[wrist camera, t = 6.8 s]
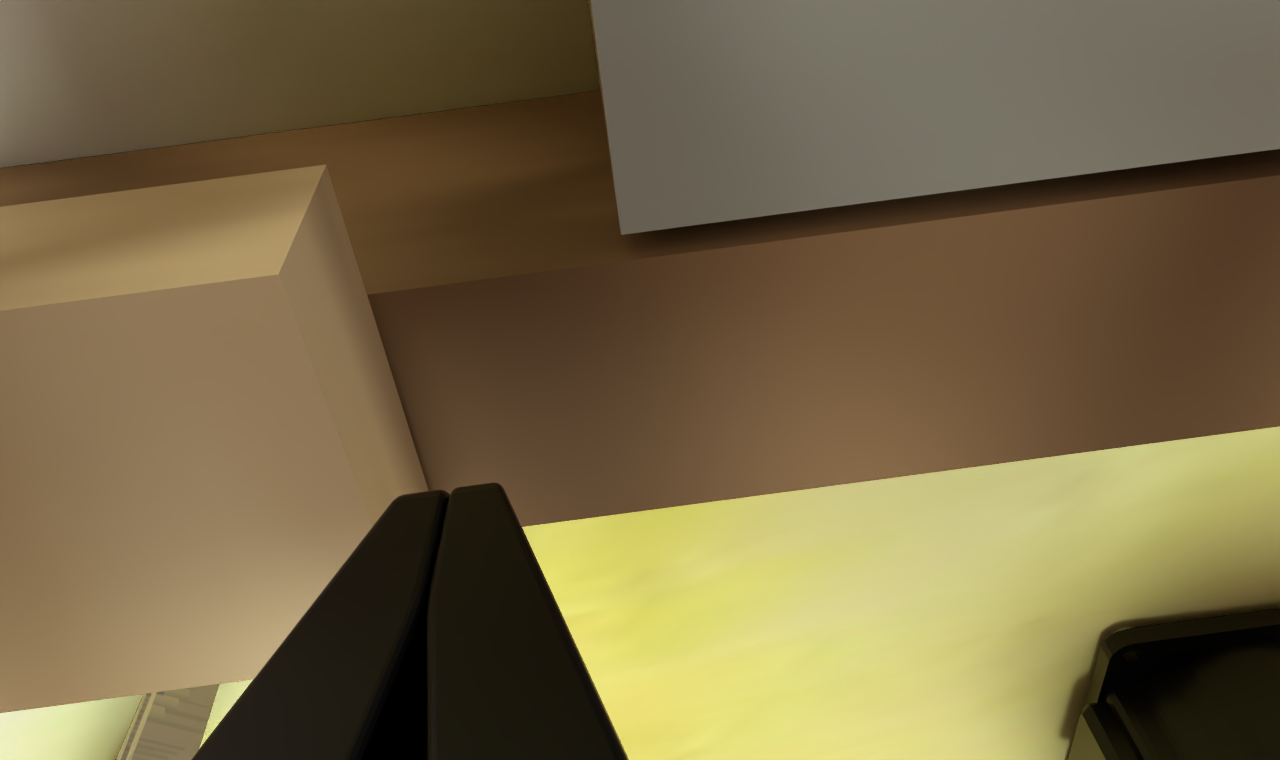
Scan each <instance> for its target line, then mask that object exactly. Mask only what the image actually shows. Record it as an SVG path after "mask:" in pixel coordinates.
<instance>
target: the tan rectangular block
mask: <svg viewBox="0 0 1280 760" xmlns="http://www.w3.org/2000/svg"><path fill="white" fill-rule="evenodd" d="M426 491H428V487H427V484H426V481H425V478H424V475H423V471H422V468H421V465H420V462H419V459H418V456H417V452H416V449H415V446H414V443H413V440H412V436H411V433H410V430H409V427H408V424H407V420H406V417H405V414H404V411H403V408H402V405H401V401H400V398H399V395H398V392H397V389H396V385H395V382H394V379H393V376H392V373H391V369H390V366H389V363H388V360H387V357H386V354H385V350H384V347H383V344H382V341H381V338H380V334H379V331H378V328H377V325H376V322H375V318H374V315H373V312H372V309H371V306H370V303H369V299H368V296H367V293H366V290H365V287H364V283H363V280H362V277H361V274H360V271H359V267H358V264H357V261H356V258H355V255H354V252H353V248H352V245H351V242H350V239H349V236H348V232H347V229H346V226H345V223H344V220H343V216H342V213H341V210H340V207H339V204H338V201H337V197H336V194H335V191H334V188H333V185H332V181H331V178H330V175H329V172H328V169H327V165H319V166H311V167H304V168H296V169H288V170H281V171H273V172H265V173H257V174H250V175H242V176H234V177H227V178H219V179H211V180H204V181H196V182H188V183H180V184H173V185H165V186H157V187H150V188H142V189H134V190H127V191H119V192H111V193H103V194H96V195H88V196H80V197H73V198H65V199H57V200H50V201H42V202H34V203H26V204H19V205H11V206H3V207H0V713H4V712H11V711H19V710H26V709H34V708H41V707H49V706H56V705H64V704H71V703H79V702H86V701H94V700H101V699H109V698H116V697H124V696H131V695H139V694H146V693H154V692H161V691H169V690H176V689H184V688H191V687H199V686H206V685H213V684H221V683H228V682H236V681H243V680H251V679H254V678H255V677H256V676H257V674H258V673H259V672H260V671H261V669H262V668H263V667H264V665H265V664H266V663H267V662H268V660H269V659H270V658H271V656H272V655H273V654H274V653H275V651H276V650H277V649H278V647H279V646H280V645H281V644H282V642H283V641H284V640H285V638H286V637H287V636H288V635H289V633H290V632H291V631H292V629H293V628H294V627H295V626H296V624H297V623H298V622H299V620H300V619H301V618H302V617H303V615H304V614H305V613H306V611H307V610H308V609H309V608H310V606H311V605H312V604H313V602H314V601H315V600H316V599H317V597H318V596H319V595H320V593H321V592H322V591H323V590H324V588H325V587H326V586H327V584H328V583H329V582H330V581H331V579H332V578H333V577H334V575H335V574H336V573H337V572H338V570H339V569H340V568H341V566H342V565H343V564H344V563H345V561H346V560H347V559H348V557H349V556H350V555H351V554H352V552H353V551H354V550H355V548H356V547H357V546H358V545H359V543H360V542H361V541H362V539H363V538H364V537H365V536H366V534H367V533H368V532H369V530H370V529H371V528H372V527H373V525H374V524H375V523H376V521H377V520H378V519H379V518H380V516H381V515H382V514H383V512H384V511H385V510H386V509H387V507H388V506H389V505H390V503H391V502H392V501H393V500H394V499H396V498H397V497H398V496H401V495H404V494H411V493H418V492H426Z"/></svg>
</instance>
